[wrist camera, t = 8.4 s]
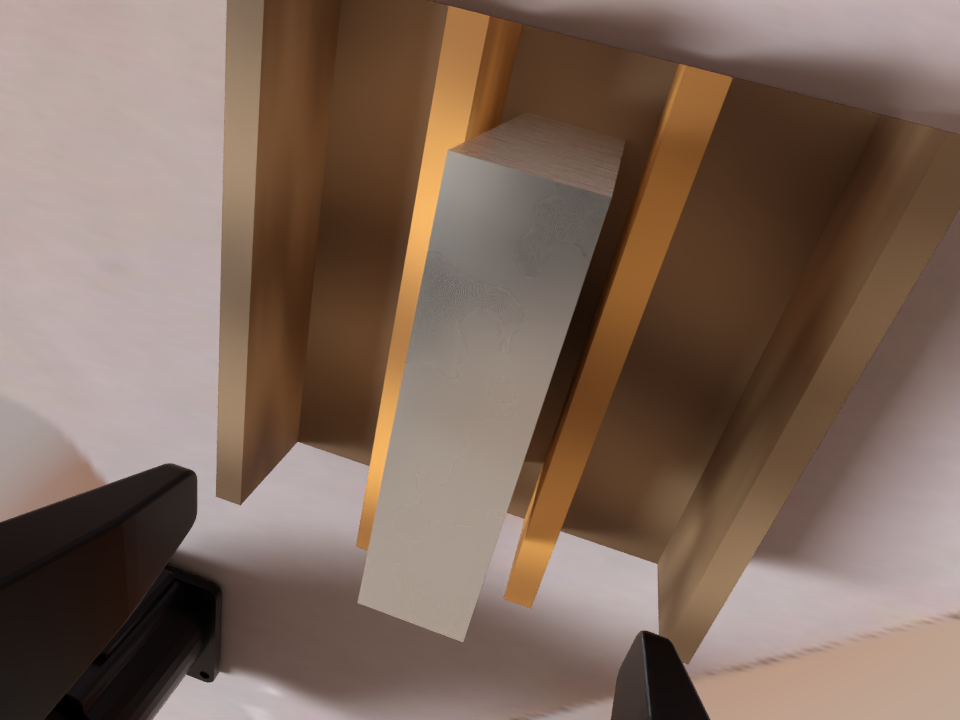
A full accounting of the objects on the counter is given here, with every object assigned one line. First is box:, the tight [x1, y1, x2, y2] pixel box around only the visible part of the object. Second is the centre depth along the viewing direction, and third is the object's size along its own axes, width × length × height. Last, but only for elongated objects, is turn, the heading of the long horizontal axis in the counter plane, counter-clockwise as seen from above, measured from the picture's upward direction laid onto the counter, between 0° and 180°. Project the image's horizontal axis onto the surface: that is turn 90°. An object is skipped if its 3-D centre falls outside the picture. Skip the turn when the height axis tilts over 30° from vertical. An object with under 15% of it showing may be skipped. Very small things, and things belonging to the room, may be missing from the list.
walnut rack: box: [216, 0, 960, 664], centre depth 17 cm, size 14×14×4 cm
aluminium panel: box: [357, 112, 626, 642], centre depth 15 cm, size 10×2×7 cm, turn 167°
